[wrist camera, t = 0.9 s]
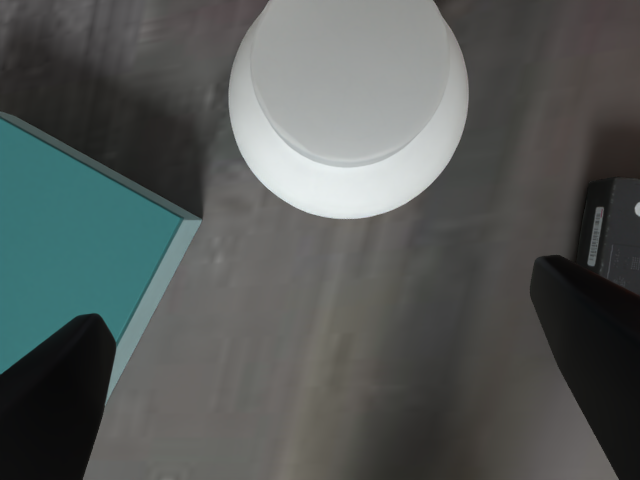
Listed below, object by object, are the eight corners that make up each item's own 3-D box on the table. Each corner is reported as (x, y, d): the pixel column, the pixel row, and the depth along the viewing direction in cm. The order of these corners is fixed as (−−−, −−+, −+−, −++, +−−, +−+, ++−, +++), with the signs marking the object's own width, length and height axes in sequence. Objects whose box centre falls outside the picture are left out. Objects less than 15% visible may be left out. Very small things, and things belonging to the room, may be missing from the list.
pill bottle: (247, 157, 24) (123, 77, 10) (336, 49, 23) (327, -183, 10) (352, 247, 24) (365, 284, 10) (444, 141, 23) (583, 33, 10)
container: (97, 428, 25) (50, 467, 21) (-90, 322, 25) (-171, 341, 21) (207, 218, 24) (181, 217, 20) (13, 110, 24) (-52, 89, 20)
